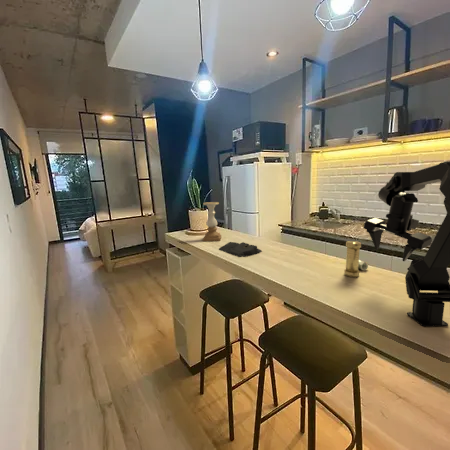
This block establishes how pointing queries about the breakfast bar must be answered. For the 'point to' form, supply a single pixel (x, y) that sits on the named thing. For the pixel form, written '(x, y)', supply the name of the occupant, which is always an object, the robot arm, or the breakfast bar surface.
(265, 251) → the breakfast bar surface
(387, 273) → the breakfast bar surface
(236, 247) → the dark slate chunk
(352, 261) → the knob
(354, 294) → the breakfast bar surface
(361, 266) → the pipe fitting
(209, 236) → the candle holder
